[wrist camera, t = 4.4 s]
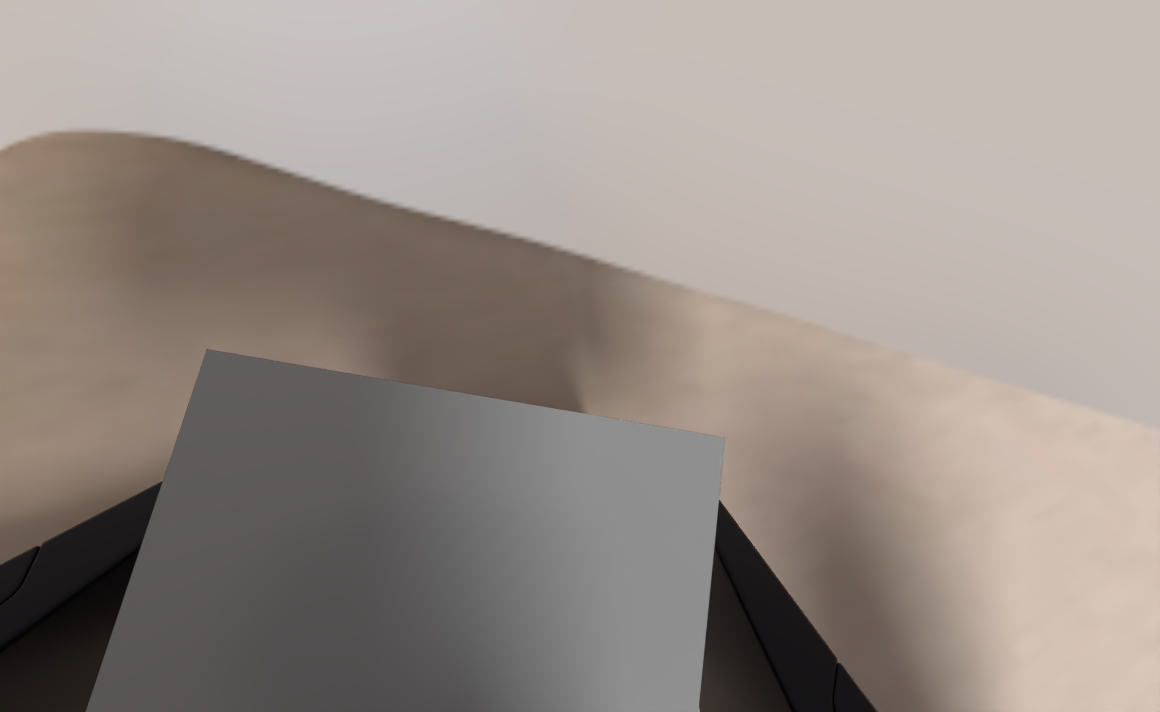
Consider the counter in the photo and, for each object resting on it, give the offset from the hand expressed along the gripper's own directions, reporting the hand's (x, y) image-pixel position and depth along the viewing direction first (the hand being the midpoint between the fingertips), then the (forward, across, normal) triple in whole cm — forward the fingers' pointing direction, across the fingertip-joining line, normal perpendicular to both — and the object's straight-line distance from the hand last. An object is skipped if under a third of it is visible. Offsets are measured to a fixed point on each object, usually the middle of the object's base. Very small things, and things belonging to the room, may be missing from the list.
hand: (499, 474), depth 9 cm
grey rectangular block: (+4, 0, +6) cm, 7 cm away
